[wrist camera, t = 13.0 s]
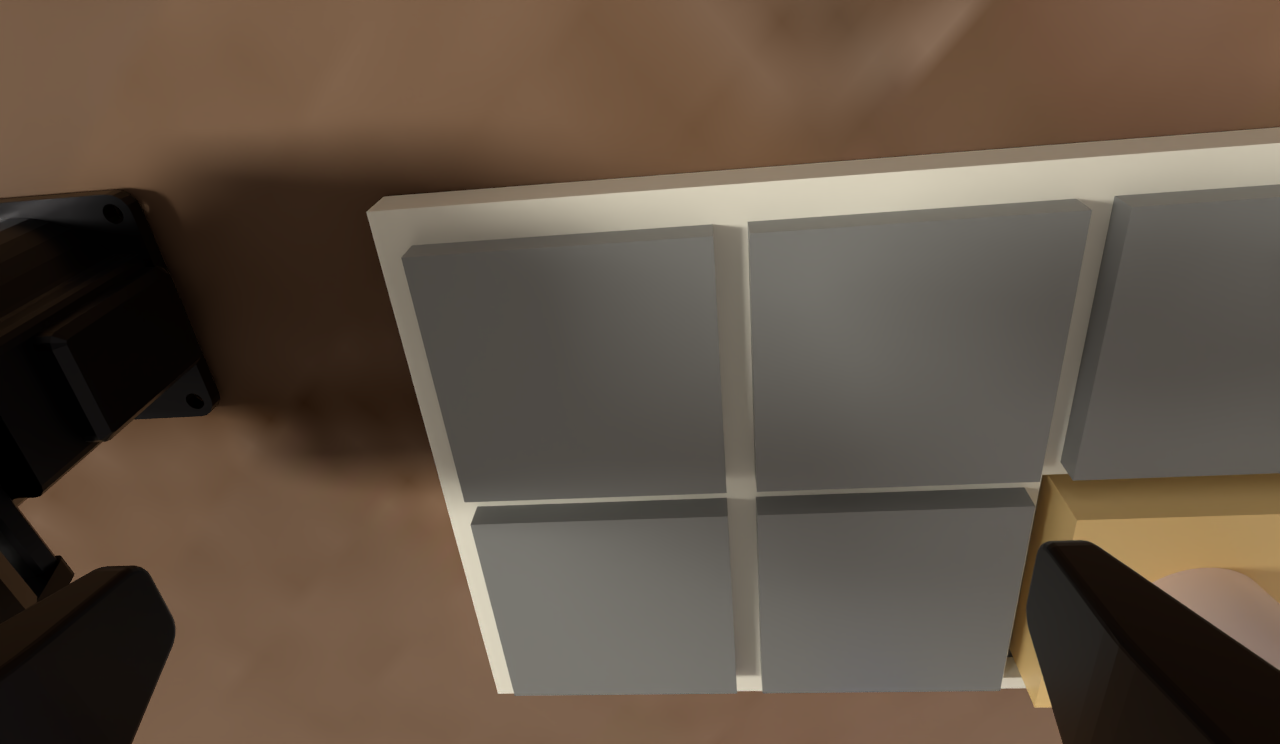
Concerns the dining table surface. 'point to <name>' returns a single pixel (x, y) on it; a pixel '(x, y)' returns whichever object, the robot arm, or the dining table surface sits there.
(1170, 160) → the button board
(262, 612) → the dining table surface
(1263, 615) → the smoothie
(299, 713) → the dining table surface
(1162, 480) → the amber button
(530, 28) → the dining table surface
